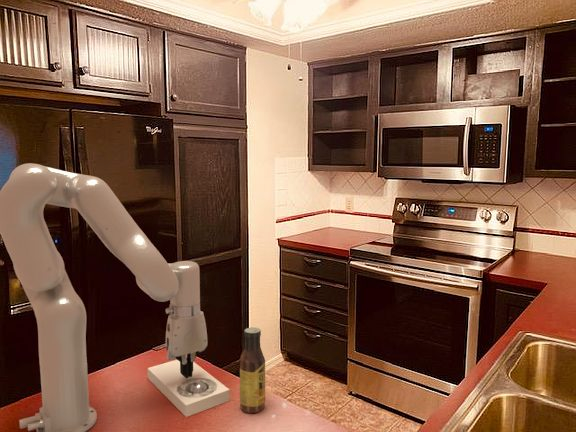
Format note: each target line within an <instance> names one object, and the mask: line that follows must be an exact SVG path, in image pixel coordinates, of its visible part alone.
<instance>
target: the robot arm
mask: <svg viewBox="0 0 576 432" xmlns="http://www.w3.org/2000/svg"><path fill="white" fill-rule="evenodd" d="M46 205H51V206H57V207H64V208H70V209H76V210H77V211H78V213H79V214H80V215H81V216H82V219H84V220H85V222H86V224H87V225H89V227H90V228H91V230H93V232H94V233H95V234H96V235H97V237H98V238H99V240H100V241H101V242H102V243H103V244H104V246H105V247H106V248H107V249H108V250H109V252H110V253H112V254H113V255H114V257H116V258H117V259H118V260H119V261H120V262H122V263H123V264H124V265H125V267H127V268H128V269H129V270H130V271H131V273H132V274H133V275H134V276H135V281H136V285H137V286H138V287H139V288H140V290H142V291H143V292H144V293H145V294H146V295H148V296H149V297H150V298H151V299H153V300H154V301H157V302H161V303H162V302H163V303H164V302H168V301H170V302H169V303H170V304H169V307H167V308H165V313H166V315H168V314H169V315H168V318H167V322H166V331H165V349H166V359H167V360H169V361H174V360H178V361H180V372H181V374H182V375H183V376H184V377H185V378H189V377H192V372H193V362H195V361H196V357H197V356H198V355H199V353H202V352H204V351H205V350H206V348H207V347H208V333H207V323H206V318H205V315H204V311H201V290H200V289H201V286H200V285H201V281H200V279H201V278H200V266H199V264H198V263H197V262H195V261H191V260H181V261H175V262H173V263H172V262H171V263H168V262H167V260H166V259H165V258H164V257H163V255H162V253H160V251H159V250H158V249H157V247H155V246H154V243H152V242H151V240H150V239H149V238H148V237H147V235H146V234H145V233H144V232H143V230H142V229H141V228H140V226H139V225H138V224H137V223H136V221H135V220H134V219H133V217H132V216H131V214H130V213H128V211H127V210H126V208H125V206H124V205H123V203H122V202H121V201H120V199H119V198H118V197H117V195H116V194H115V193H114V191H113V190H112V189H111V188H110V186H109V185H108V183H106V182H105V181H104V180H103V179H101V178H99V177H98V176H93V175H87V174H81V173H76V172H71V171H70V172H69V171H67V170H62V169H58V168H54V167H49V166H45V165H42V164H38V163H31V162H29V163H23V164H20V165H18V166H17V167H15V168H14V169H13V170H12V172H11V173H10V176H9V178H8V180H7V181H6V182H5V183H4V185H3V186H2V188H1V189H0V237H1V239H2V240H3V243H4V246H5V248H6V251H7V253H8V254H9V257H10V260H11V261H12V264H13V265H12V266H13V270H14V272H15V275H16V277H17V279H18V280H19V282H20V284H21V286H22V289H23V290H24V293H25V295H26V296H27V298H28V300H29V303H30V305H31V308H32V309H33V312H34V316H35V319H36V324H37V335H38V336H37V337H38V358H39V361H38V363H39V372H40V385H41V400H42V401H41V402H42V406H41V407H39V412H36V413H34V415H33V416H28V417H24V418H22V419H19V420H18V423H19V429H20V430H22V429H25V428H27V431H28V432H31V431H34V430H36V432H87V431H88V430H90V429H91V428H92V427H93V426H94V425H95V424H96V422H97V419H98V414H97V410H95V408H93V407H92V406H90V398H89V396H90V395H89V378H88V375H89V373H88V362H87V361H88V360H87V359H88V358H87V340H86V336H87V311H86V307H85V304H84V302H83V300H82V299H81V297H80V296H79V295H78V294H77V292H76V291H75V289H74V287H73V285H72V282H71V280H70V278H69V275H68V273H67V271H66V268H65V262H64V260H63V256H61V253H60V252H59V251H58V250H57V247H56V245H55V243H54V240H53V238H52V236H51V234H50V230H49V228H48V226H47V223H46V221H45V218H44V208H45V206H46Z"/></svg>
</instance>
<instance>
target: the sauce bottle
mask: <svg viewBox="0 0 576 432" xmlns="http://www.w3.org/2000/svg"><path fill="white" fill-rule="evenodd" d="M243 332H244V333H243V335H244V349H243V351H242V352H241V354H240V359H239V361H240V363H239V366H240V367H239V402H240V409H241V410H242V411H243V412H245V413H250V414H252V413H253V414H254V413H258V412H260V411H262V410H264V408H265V405H266V404H265V402H266V359H265V356H264V354H263V351H262V347H261V336H262V334H261V329H260V328H258V327H247V328H245V329H244V331H243Z"/></svg>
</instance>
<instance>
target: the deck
mask: <svg viewBox="0 0 576 432" xmlns="http://www.w3.org/2000/svg"><path fill="white" fill-rule="evenodd" d="M146 370H147V379H148V380H149V381H150V382H151V383H152V384H153V385H154V386H155V387H156V388H157V389H158V390H159V391H160V392H161V393H162V394H163V395H164V396H165V397H166V398H167V400H169V401H170V402H171V403H172V404H173V405H174V406H175V407H176V409H177V410H179V412H181V413H182V414H183V416H184V417H185V418H187V417H190V416H193V415H196V414H198V413H201V412H203V411H205V410H206V411H207V410H208V409H211V408H215V407H216V406H220V405H222V404H224V403H227V402H229V401H230V398H231V395H230V392H231V391H230V388H228V387H227V386H226V385H224V384H223V383H222V382H221V381H219V380H218V379H217V378H215V377H214V376H213V375H211V374H210V373H209V372H207V371H206V370H205V369H203V368H202V367H201V366H200V365H199V364H197V363H196V362H195V361H194V362H193V372H192V377H189V378H185V377H184V376H183V375H182V374H181V372H180V361H178V360H177V359H175V360H169V361H167V362H164V363H160V364H156V365H153V366H150V367H148V368H147V369H146ZM196 382H202V383H204V384H205V385H206V387H207V390H206V391H205V392H202V393H196V394H192V393H189V390H190V387H191V386H192V385H193V384H194V383H196Z"/></svg>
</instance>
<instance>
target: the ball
mask: <svg viewBox="0 0 576 432" xmlns="http://www.w3.org/2000/svg"><path fill="white" fill-rule="evenodd" d="M206 390H207V387H206V385H205V384H204V383H202V382H196V383H194V384H193V385H192V386H191V387H190V390H189V393H192V394H196V393H202V392H205V391H206Z"/></svg>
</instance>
